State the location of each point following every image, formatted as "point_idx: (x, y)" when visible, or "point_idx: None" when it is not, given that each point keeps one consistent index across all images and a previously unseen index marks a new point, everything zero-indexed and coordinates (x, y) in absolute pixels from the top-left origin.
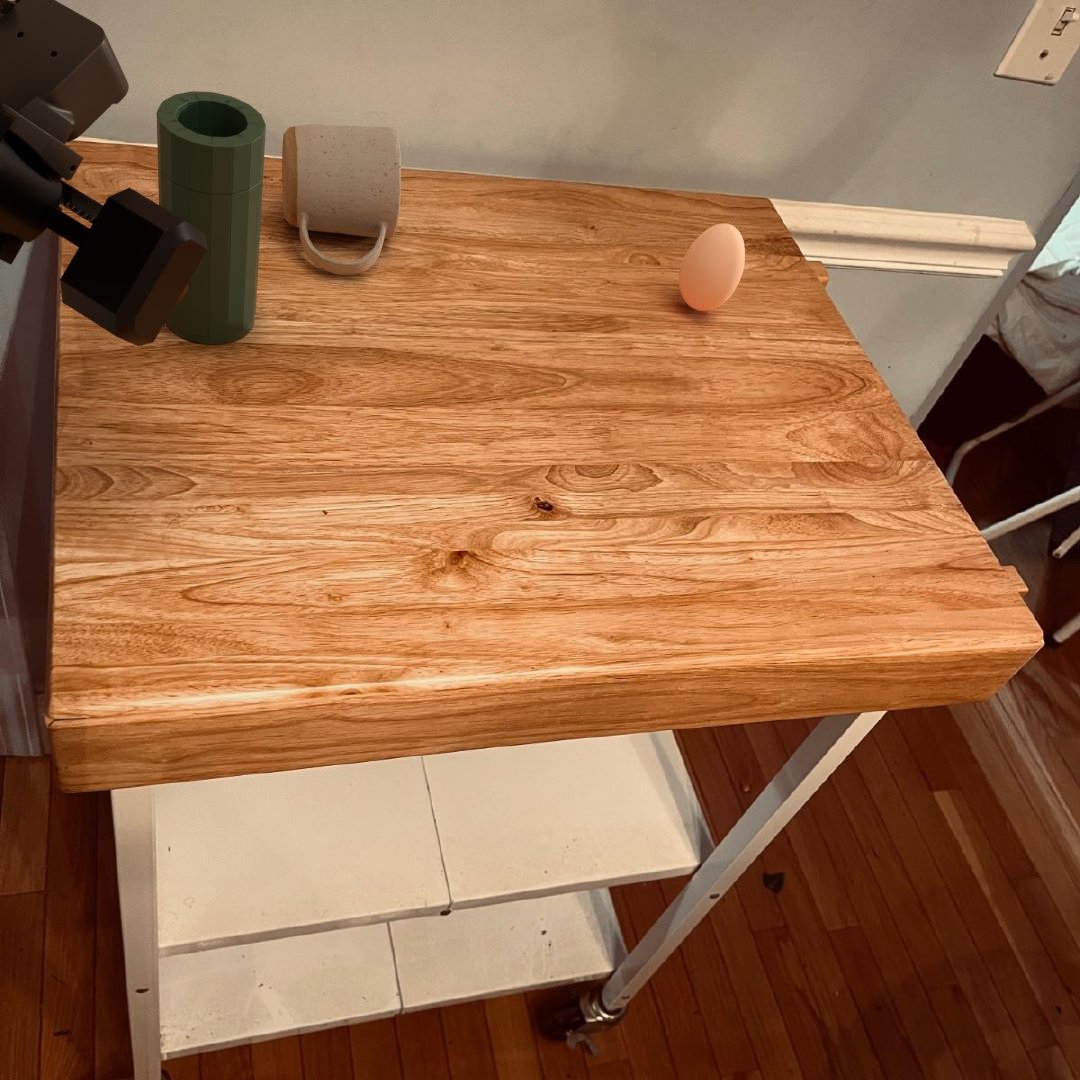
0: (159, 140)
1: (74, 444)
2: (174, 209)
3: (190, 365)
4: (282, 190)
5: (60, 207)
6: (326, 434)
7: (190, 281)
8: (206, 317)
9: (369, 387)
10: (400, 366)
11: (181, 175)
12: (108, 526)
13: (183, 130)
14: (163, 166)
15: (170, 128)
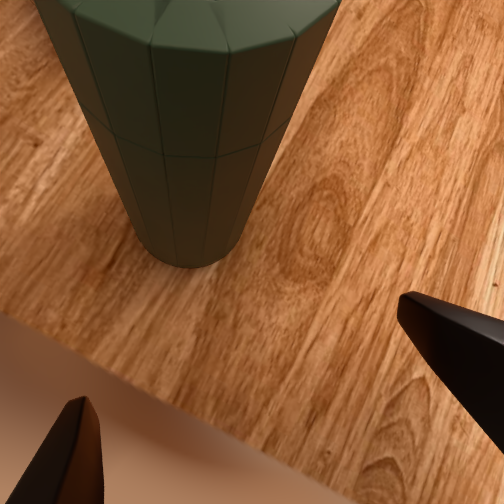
0: (143, 97)
1: (323, 472)
2: (215, 190)
3: (257, 281)
4: (33, 2)
5: (83, 399)
6: (405, 220)
7: (231, 230)
8: (239, 234)
9: (362, 144)
10: (347, 100)
11: (243, 133)
12: (448, 495)
13: (227, 14)
14: (176, 145)
15: (202, 40)
